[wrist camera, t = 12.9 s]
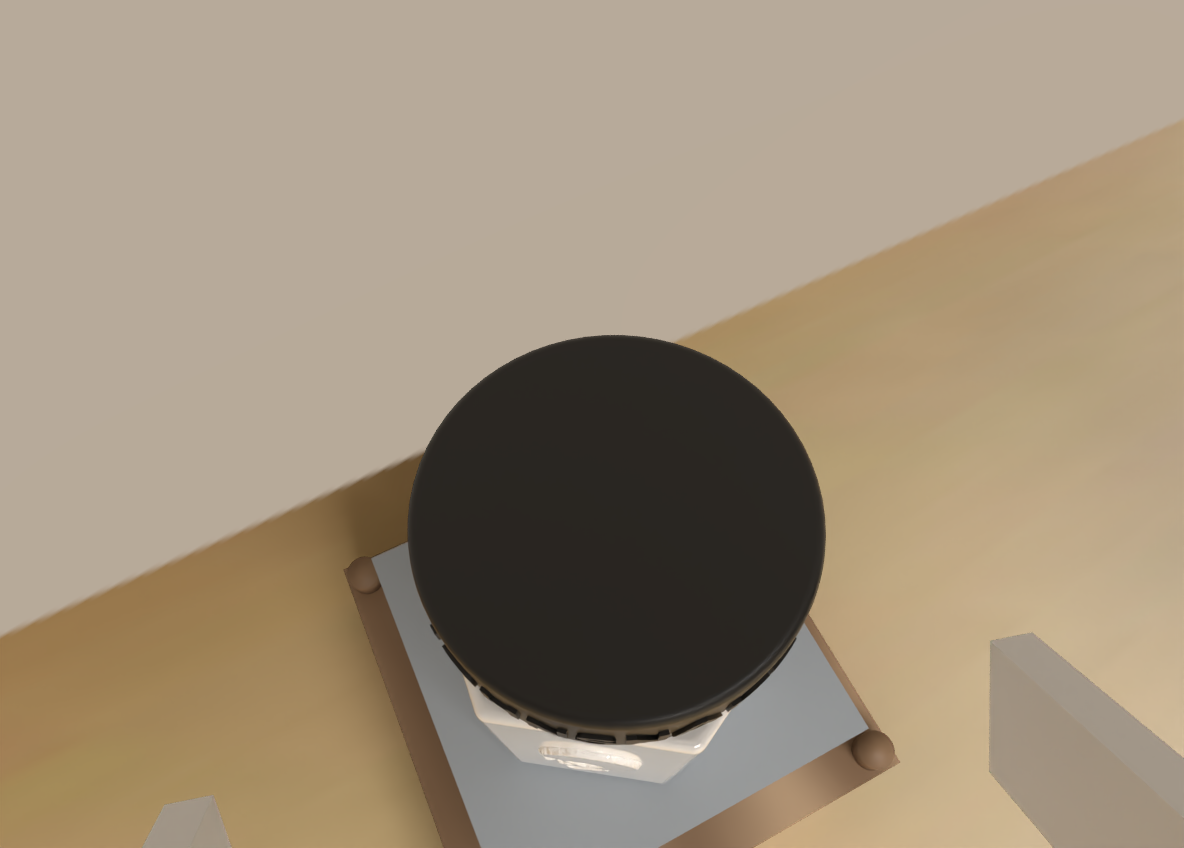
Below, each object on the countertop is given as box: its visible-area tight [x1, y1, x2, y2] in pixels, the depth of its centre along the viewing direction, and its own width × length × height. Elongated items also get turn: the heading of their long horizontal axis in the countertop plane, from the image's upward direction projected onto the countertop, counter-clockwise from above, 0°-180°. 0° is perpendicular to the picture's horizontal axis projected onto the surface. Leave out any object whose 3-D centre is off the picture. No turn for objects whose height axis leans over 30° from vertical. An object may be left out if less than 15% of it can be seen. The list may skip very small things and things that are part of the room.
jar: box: [408, 335, 826, 783], centre depth 21 cm, size 9×8×12 cm
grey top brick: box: [371, 542, 869, 848], centre depth 28 cm, size 12×12×4 cm
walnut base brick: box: [344, 541, 900, 848], centre depth 31 cm, size 15×15×4 cm
